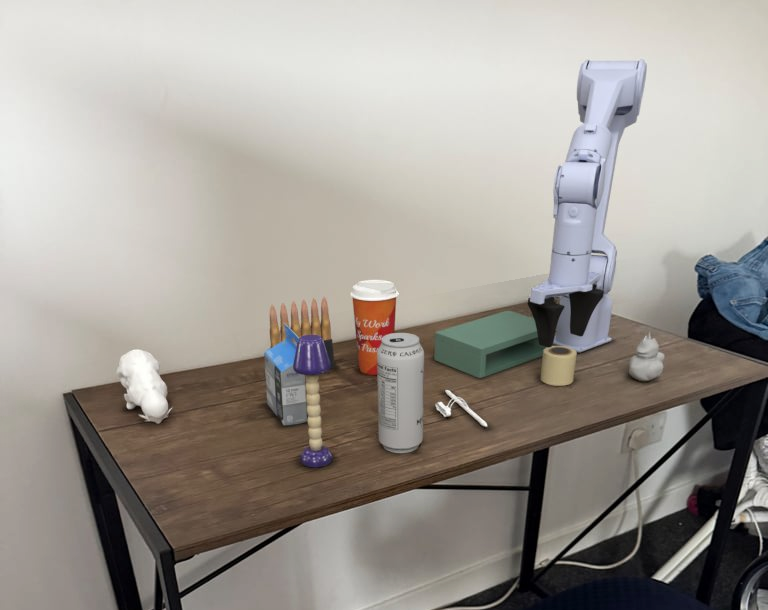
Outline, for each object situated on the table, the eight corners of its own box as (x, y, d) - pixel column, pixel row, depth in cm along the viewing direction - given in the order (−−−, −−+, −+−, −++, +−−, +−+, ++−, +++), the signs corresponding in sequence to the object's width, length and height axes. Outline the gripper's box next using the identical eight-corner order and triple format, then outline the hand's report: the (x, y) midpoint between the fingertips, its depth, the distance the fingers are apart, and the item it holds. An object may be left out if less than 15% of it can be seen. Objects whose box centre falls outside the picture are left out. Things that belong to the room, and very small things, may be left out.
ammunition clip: (330, 364, 129) (327, 294, 123) (335, 368, 128) (331, 297, 121) (271, 375, 125) (264, 304, 119) (275, 379, 124) (268, 307, 117)
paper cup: (345, 373, 125) (341, 289, 118) (364, 358, 131) (361, 276, 124) (389, 380, 123) (388, 294, 115) (406, 363, 129) (406, 281, 121)
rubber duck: (617, 377, 123) (625, 329, 118) (646, 369, 125) (654, 321, 121) (643, 388, 119) (652, 339, 114) (672, 379, 121) (681, 331, 117)
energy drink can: (428, 451, 102) (430, 344, 94) (386, 458, 100) (384, 349, 92) (414, 432, 107) (415, 329, 99) (373, 438, 105) (371, 334, 97)
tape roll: (554, 371, 125) (557, 342, 123) (579, 380, 122) (583, 351, 119) (533, 379, 122) (536, 350, 120) (558, 388, 119) (562, 358, 116)
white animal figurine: (153, 341, 114) (175, 374, 106) (161, 391, 119) (183, 427, 111) (110, 349, 112) (129, 383, 103) (120, 400, 117) (140, 436, 109)
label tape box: (266, 404, 116) (258, 325, 109) (292, 399, 117) (285, 321, 110) (283, 427, 109) (275, 344, 102) (310, 422, 110) (304, 340, 103)
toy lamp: (300, 451, 102) (290, 332, 93) (335, 450, 102) (328, 330, 94) (300, 469, 98) (290, 345, 89) (336, 467, 98) (329, 343, 89)
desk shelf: (505, 336, 140) (507, 310, 137) (552, 352, 132) (555, 324, 130) (434, 360, 130) (434, 332, 128) (479, 378, 123) (481, 349, 120)
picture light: (489, 428, 107) (490, 414, 106) (461, 433, 106) (462, 419, 105) (447, 392, 118) (448, 379, 117) (422, 396, 117) (422, 383, 116)
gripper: (561, 264, 105) (550, 357, 112) (624, 247, 112) (610, 336, 120) (522, 255, 109) (515, 345, 117) (585, 239, 117) (575, 325, 124)
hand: (561, 340), depth 119 cm, fingers open, 7 cm apart
